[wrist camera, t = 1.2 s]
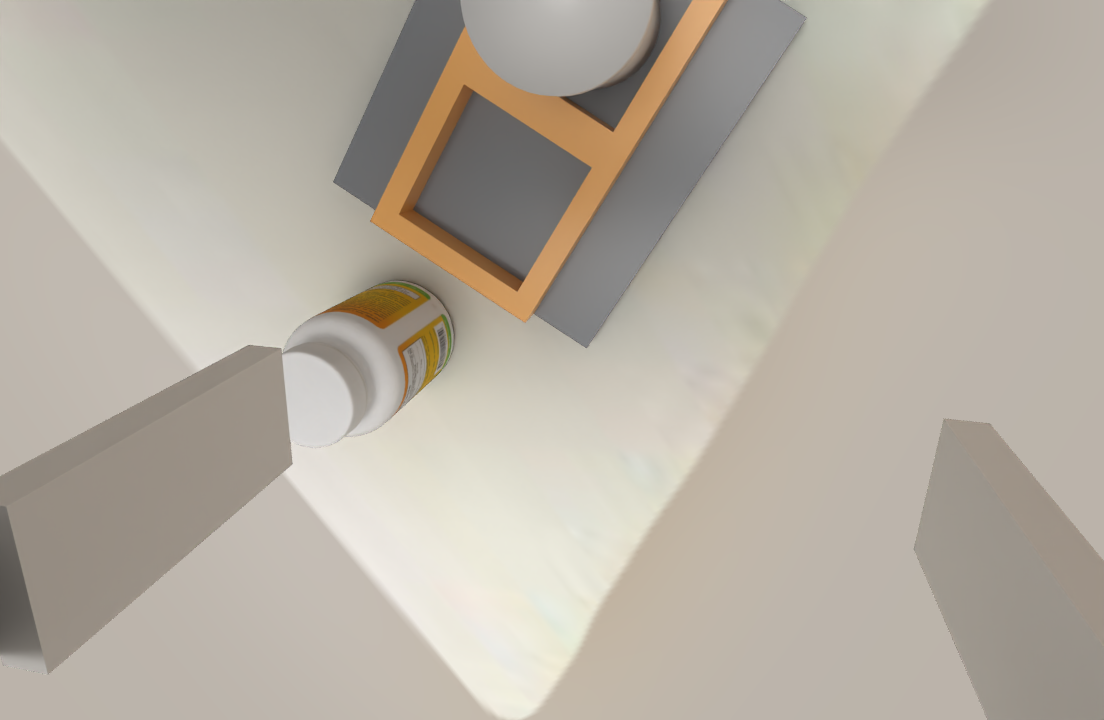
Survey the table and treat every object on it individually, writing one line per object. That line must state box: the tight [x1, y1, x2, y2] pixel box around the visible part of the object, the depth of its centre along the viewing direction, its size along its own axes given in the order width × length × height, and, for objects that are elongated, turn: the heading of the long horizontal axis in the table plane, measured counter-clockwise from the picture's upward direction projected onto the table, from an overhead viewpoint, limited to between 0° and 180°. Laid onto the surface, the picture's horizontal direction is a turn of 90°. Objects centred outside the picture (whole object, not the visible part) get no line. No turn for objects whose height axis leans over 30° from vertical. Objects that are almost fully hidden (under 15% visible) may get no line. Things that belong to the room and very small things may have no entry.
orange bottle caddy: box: [333, 0, 806, 348], centre depth 28 cm, size 14×16×9 cm
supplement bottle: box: [282, 281, 454, 448], centre depth 33 cm, size 5×5×10 cm
